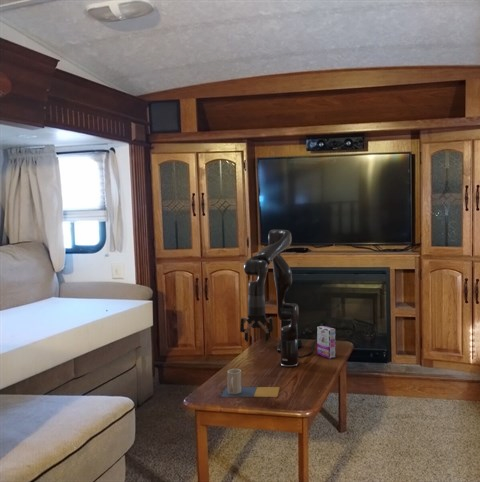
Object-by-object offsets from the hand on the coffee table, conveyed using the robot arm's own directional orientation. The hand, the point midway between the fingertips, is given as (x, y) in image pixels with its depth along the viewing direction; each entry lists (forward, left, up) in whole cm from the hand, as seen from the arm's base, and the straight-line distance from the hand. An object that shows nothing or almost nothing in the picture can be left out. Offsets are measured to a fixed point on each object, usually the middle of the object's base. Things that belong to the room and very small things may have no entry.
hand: (256, 341), depth 193 cm
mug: (-2, -11, -24) cm, 27 cm away
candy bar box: (-56, +31, -24) cm, 69 cm away
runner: (-3, -3, -24) cm, 25 cm away
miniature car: (-69, +9, -24) cm, 74 cm away
